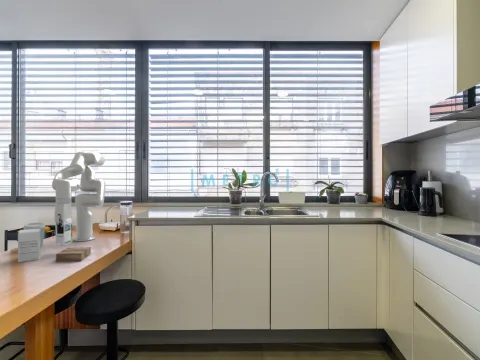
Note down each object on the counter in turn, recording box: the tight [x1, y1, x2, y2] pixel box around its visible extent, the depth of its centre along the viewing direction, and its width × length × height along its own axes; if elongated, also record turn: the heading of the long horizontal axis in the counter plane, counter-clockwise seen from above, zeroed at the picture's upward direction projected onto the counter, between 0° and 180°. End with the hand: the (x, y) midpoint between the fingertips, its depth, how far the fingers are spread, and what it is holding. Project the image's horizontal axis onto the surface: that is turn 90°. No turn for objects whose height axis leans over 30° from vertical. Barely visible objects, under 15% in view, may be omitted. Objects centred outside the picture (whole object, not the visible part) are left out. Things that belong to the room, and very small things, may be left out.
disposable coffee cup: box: [22, 222, 47, 249], centre depth 160 cm, size 11×11×15 cm
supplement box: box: [17, 229, 41, 263], centre depth 141 cm, size 9×9×15 cm
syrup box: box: [54, 217, 73, 246], centre depth 153 cm, size 6×6×14 cm
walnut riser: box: [55, 246, 92, 263], centre depth 144 cm, size 12×12×4 cm
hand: (63, 231), depth 153 cm, fingers closed on syrup box, 7 cm apart
